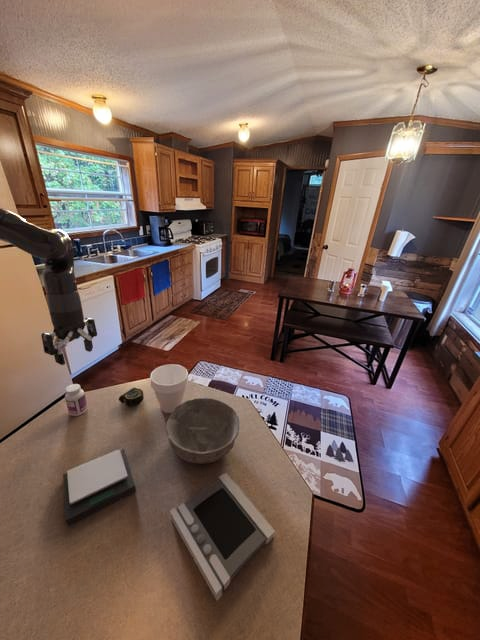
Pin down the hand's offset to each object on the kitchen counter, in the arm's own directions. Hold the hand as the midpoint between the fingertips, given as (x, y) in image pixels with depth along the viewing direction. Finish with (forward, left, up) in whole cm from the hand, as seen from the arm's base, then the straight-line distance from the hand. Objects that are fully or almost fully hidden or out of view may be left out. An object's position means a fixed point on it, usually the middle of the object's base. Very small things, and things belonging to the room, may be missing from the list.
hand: (75, 357), depth 76 cm
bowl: (+27, -32, -22) cm, 47 cm away
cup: (+25, -11, -22) cm, 35 cm away
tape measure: (+14, -2, -22) cm, 26 cm away
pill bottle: (-2, +2, -22) cm, 22 cm away
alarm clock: (+21, -53, -22) cm, 61 cm away
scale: (0, -29, -22) cm, 36 cm away
